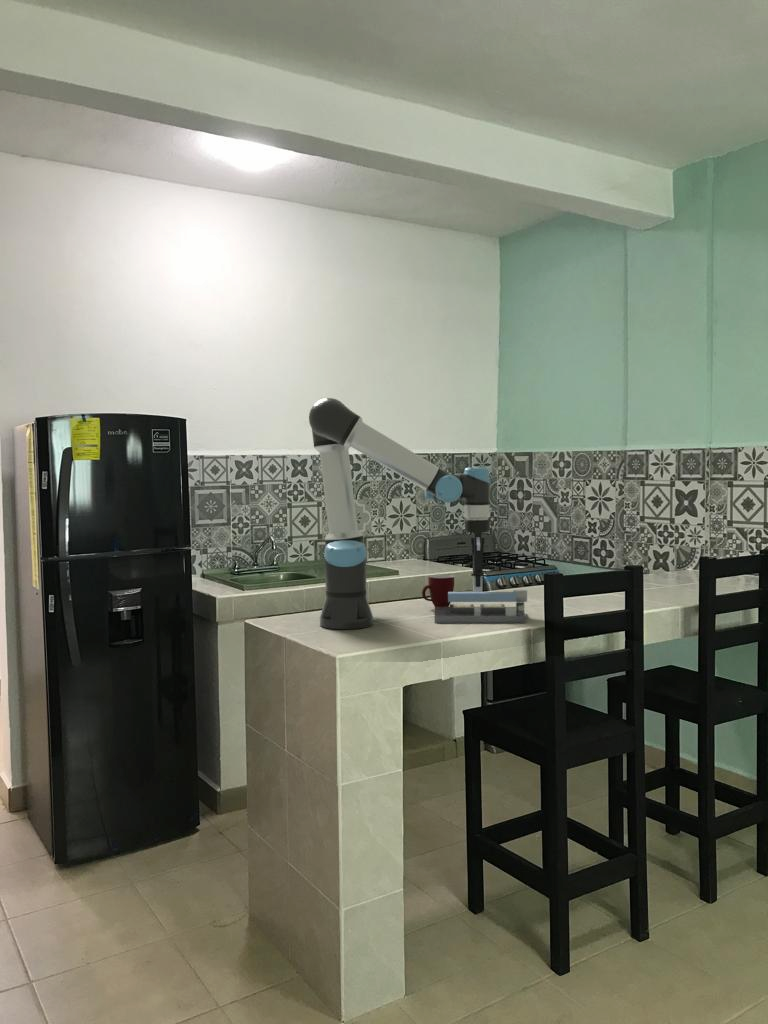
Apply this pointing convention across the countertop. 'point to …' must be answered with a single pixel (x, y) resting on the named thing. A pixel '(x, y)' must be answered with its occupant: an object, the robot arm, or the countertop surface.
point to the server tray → (480, 613)
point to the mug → (439, 589)
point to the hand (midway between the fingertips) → (477, 596)
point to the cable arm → (488, 596)
